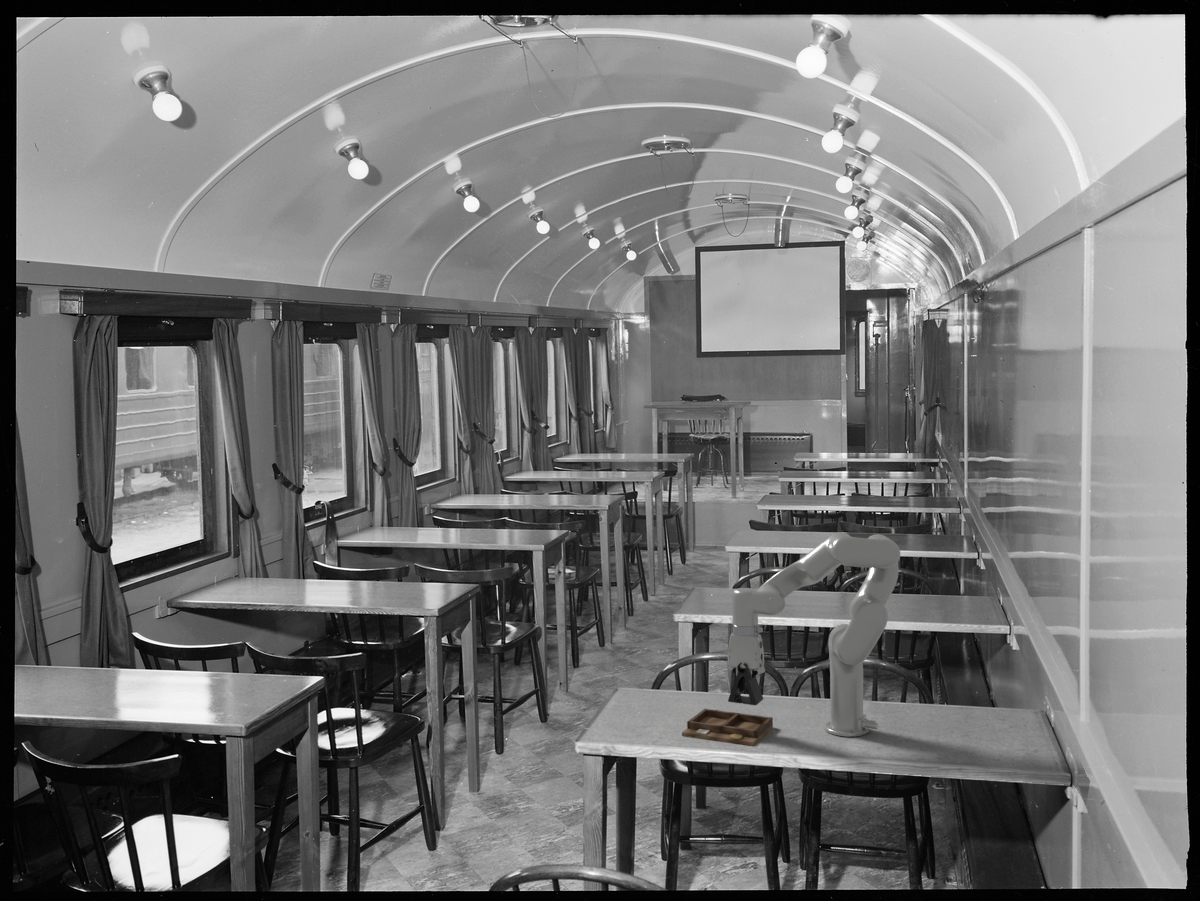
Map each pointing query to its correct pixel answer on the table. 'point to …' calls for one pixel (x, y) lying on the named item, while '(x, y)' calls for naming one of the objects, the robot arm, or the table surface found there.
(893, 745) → the table surface
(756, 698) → the phone stand
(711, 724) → the bay board
